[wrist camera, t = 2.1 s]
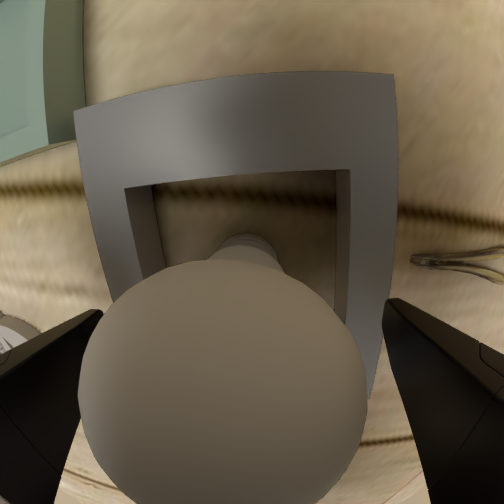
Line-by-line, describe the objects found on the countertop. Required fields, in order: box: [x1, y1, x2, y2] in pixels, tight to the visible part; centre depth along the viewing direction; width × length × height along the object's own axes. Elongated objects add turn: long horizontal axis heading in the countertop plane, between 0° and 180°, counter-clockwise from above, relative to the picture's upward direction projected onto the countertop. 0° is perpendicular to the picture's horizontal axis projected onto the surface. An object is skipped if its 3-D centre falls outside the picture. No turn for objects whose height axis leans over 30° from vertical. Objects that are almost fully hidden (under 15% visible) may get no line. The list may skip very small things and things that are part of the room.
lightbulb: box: [78, 233, 367, 504], centre depth 9 cm, size 6×6×11 cm
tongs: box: [410, 248, 504, 285], centre depth 13 cm, size 4×13×2 cm, turn 94°
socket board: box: [73, 71, 398, 399], centre depth 12 cm, size 14×11×2 cm
